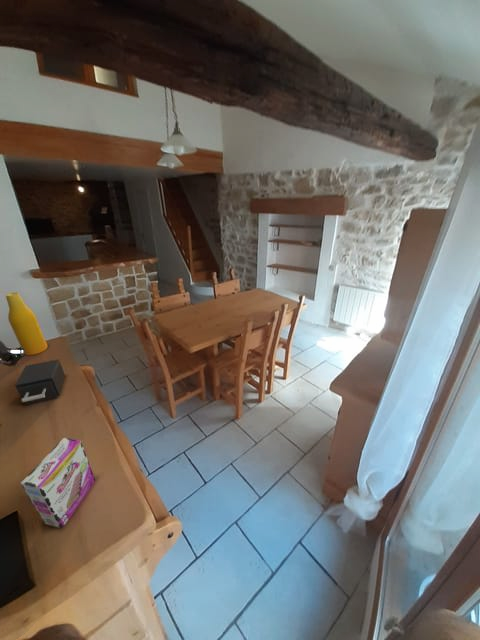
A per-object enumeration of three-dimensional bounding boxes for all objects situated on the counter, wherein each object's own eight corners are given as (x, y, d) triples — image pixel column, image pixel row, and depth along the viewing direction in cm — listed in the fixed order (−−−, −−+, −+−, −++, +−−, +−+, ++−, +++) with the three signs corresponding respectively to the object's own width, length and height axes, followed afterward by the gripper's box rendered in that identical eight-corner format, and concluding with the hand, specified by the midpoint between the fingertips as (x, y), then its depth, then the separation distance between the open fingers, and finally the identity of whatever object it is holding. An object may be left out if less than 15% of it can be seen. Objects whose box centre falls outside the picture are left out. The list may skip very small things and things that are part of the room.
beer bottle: (36, 358, 114) (10, 299, 101) (19, 355, 116) (-9, 297, 102) (53, 347, 122) (31, 291, 109) (36, 345, 124) (13, 289, 110)
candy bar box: (64, 531, 57) (39, 489, 49) (45, 526, 57) (17, 484, 50) (98, 481, 66) (81, 439, 59) (81, 477, 67) (62, 436, 60)
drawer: (54, 406, 88) (47, 389, 84) (21, 414, 84) (12, 397, 81) (62, 380, 100) (56, 364, 96) (34, 386, 96) (26, 370, 93)
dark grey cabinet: (60, 397, 93) (52, 377, 88) (25, 406, 89) (14, 385, 85) (66, 378, 102) (58, 359, 98) (34, 385, 98) (25, 365, 94)
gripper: (10, 329, 65) (39, 347, 81) (-58, 336, 61) (-14, 354, 76) (9, 357, 63) (38, 370, 78) (-62, 367, 58) (-16, 379, 74)
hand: (12, 362), depth 77 cm, fingers closed
